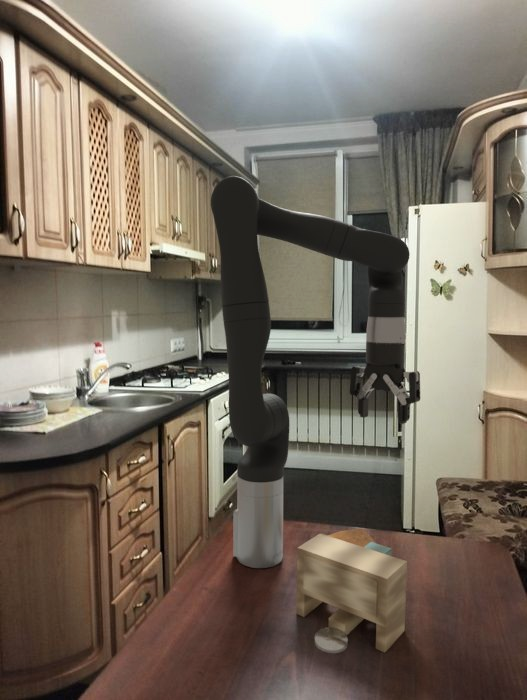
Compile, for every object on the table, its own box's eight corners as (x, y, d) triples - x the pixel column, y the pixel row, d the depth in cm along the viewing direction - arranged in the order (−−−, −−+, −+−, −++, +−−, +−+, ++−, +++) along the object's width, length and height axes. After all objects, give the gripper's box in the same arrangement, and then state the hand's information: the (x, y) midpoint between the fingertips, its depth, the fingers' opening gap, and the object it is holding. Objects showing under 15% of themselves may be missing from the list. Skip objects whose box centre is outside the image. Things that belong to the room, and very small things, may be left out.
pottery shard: (320, 542, 119) (320, 531, 119) (354, 534, 123) (354, 523, 123) (349, 563, 110) (349, 551, 109) (385, 553, 114) (385, 541, 114)
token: (308, 647, 83) (308, 639, 83) (324, 630, 87) (324, 623, 87) (338, 659, 80) (338, 651, 80) (352, 642, 84) (353, 634, 84)
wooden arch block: (295, 614, 91) (296, 548, 90) (319, 596, 97) (320, 533, 96) (384, 653, 81) (386, 579, 80) (404, 630, 87) (406, 561, 86)
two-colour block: (325, 628, 87) (326, 574, 86) (369, 589, 99) (370, 541, 98) (347, 638, 85) (349, 582, 84) (390, 597, 96) (391, 548, 96)
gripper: (344, 338, 110) (342, 418, 112) (411, 343, 101) (409, 428, 103) (362, 337, 116) (360, 412, 117) (427, 340, 107) (424, 421, 109)
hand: (383, 419), depth 110 cm, fingers open, 8 cm apart
